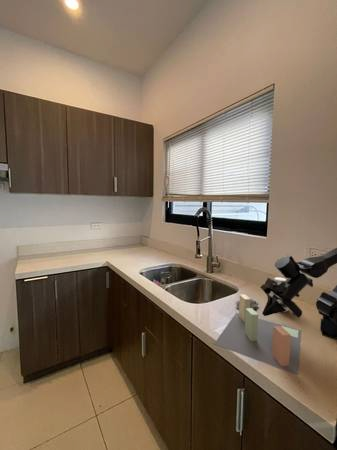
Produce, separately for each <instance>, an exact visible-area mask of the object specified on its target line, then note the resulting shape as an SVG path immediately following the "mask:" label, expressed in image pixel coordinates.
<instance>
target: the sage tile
mask: <svg viewBox="0 0 337 450" xmlns="http://www.w3.org/2000/svg"><path fill="white" fill-rule="evenodd" d="M258 319H259V313H257V312H256V311H255V309H254V310H253V309H252V308H246V311H245V334H246V336H247V337H248V338H249V339H250V341H257V333H258Z"/></svg>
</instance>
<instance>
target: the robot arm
mask: <svg viewBox="0 0 337 450" xmlns="http://www.w3.org/2000/svg"><path fill="white" fill-rule="evenodd" d="M336 264H337V247H336V248H333V249H331V250H330V251H328V252H326V253H323V254H322V255H318V256H311V257H307V258H305V259H302V260H300V261H297V262H296V260H295V259H294V257H293V256H292V255H289V254H288V255H286V256H283V257H281V258H278V259H276V261H275V262H274V267H275V268H276V269H277V271H278V272H279V273H280V274H281V275H282V276H283V278H284V279H286V281H285V282H284V281H278V282H276V281H274V279H272V278H271V277H267V278H266V280H265V282H264V284H262V285H261V286H260V287H259V288H260V289H261V290H262V292H263V293H265V295H266V296H267V297H266V298H267V301H266V304H265V306H264V307H263V311H262V313H261V314H262V315H263V317H267V316H270V315H274V314H278V313H287V312H288V311H286V309H287V308H288V310H290V311H291V312H292V313H291V314H292V315H293V316H294V317H295V318H297V319H299V318H301V317H302V316H303V310H302V309H301V308H300V307H299V306H298V305H297V303H296V302H294V301H293V299H294V298H295V297H297V298H299V297H300V294H299V293H300V292H301V291H302V290H304V288H305V287H306V286H308V287H310V288H313V287H314V282H313V281H314V280H313V279H312V278H314V279H319V278H321V277H322V276H324V275H325V274H326V273H327V272H328V270H329V268H331V267H333V266H334V265H336ZM308 276H309V277H308ZM310 277H312V278H310ZM316 300H317V301H316V302H315V306H316V307H315V308H316V309H317V312H318V315H321V316H322V318H320V322H319V323H320V325H319V328H320V329H319V330H320V331H321V334H322V335H323V336H326V337H329V338H333V339H337V284H336V286H334V288H333V289H332V290H331V291H330V292H325V291H323V292H321V294H320V296H318V297H317V298H316ZM284 311H285V312H284Z"/></svg>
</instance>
